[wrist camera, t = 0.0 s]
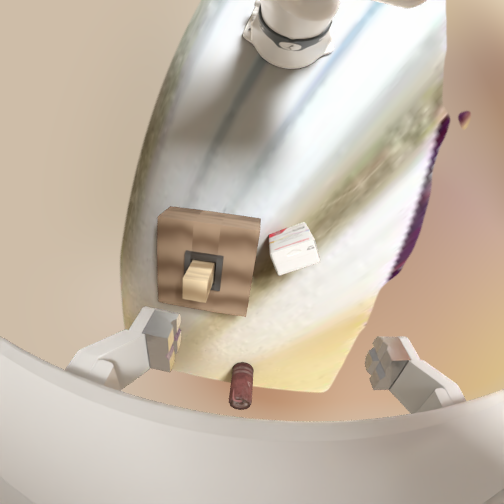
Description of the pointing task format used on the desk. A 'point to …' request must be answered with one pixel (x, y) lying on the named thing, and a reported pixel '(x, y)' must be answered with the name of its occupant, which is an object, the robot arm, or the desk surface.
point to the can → (241, 386)
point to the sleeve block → (207, 256)
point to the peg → (198, 280)
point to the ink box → (293, 249)
